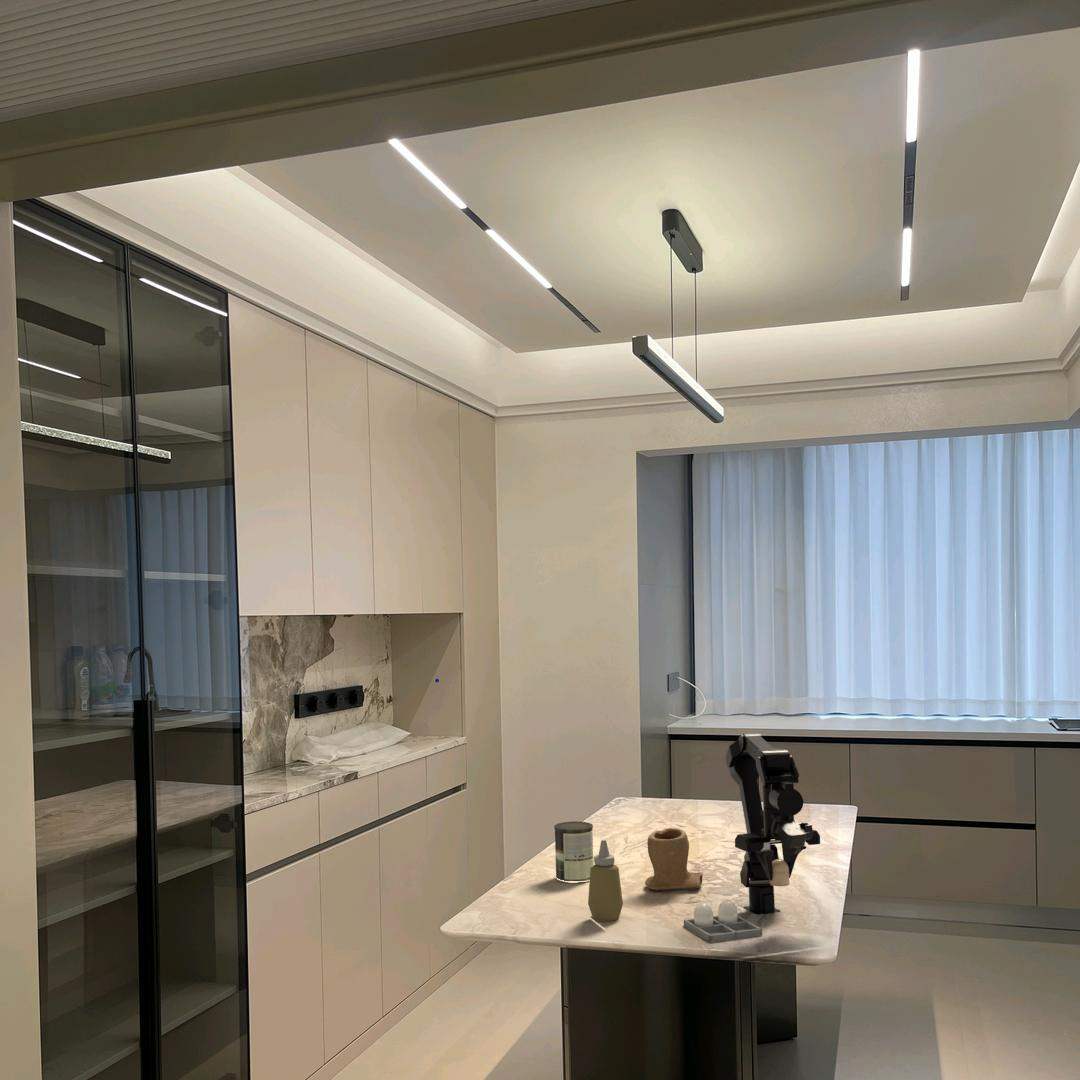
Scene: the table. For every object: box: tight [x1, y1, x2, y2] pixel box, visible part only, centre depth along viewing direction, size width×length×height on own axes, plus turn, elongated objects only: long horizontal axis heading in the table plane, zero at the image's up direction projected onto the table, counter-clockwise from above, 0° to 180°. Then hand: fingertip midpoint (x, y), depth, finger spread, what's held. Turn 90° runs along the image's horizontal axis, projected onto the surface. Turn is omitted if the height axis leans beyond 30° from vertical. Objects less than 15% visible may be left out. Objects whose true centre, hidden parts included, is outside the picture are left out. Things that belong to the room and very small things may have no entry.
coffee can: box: [554, 820, 594, 881], centre depth 284 cm, size 10×10×14 cm
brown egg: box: [770, 858, 790, 887], centre depth 235 cm, size 4×4×5 cm
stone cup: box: [644, 827, 704, 891], centre depth 271 cm, size 15×12×15 cm
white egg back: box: [693, 903, 714, 927], centre depth 236 cm, size 4×4×5 cm
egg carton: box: [683, 914, 763, 943], centre depth 234 cm, size 13×13×2 cm
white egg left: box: [717, 900, 738, 924], centre depth 237 cm, size 4×4×5 cm
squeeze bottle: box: [587, 839, 624, 923], centre depth 246 cm, size 8×8×18 cm
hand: (779, 878), depth 235 cm, fingers closed on brown egg, 4 cm apart
